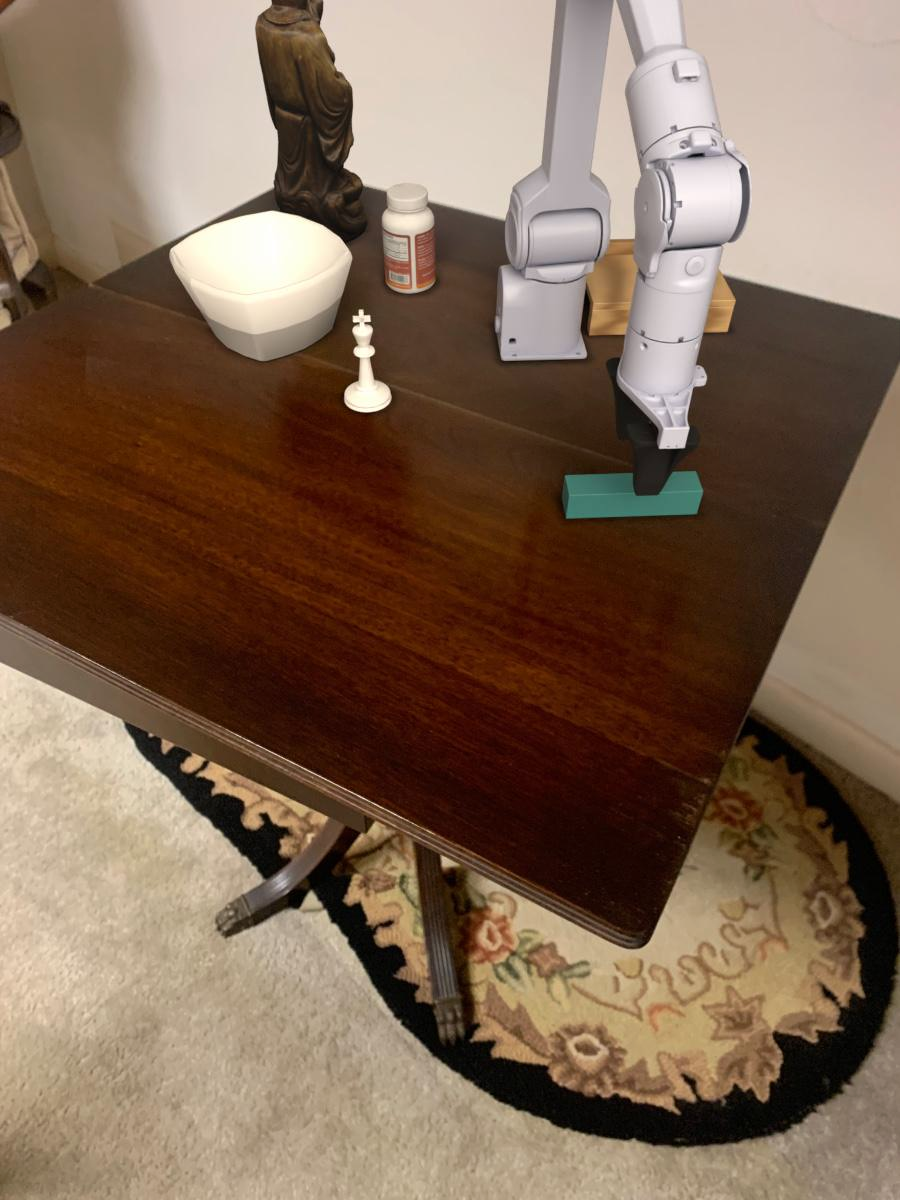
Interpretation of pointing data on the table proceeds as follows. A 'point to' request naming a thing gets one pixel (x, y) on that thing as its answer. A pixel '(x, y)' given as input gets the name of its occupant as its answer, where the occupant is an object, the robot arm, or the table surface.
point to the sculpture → (309, 118)
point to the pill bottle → (408, 239)
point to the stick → (628, 496)
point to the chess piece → (365, 373)
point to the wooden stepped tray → (615, 292)
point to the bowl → (265, 281)
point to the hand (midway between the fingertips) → (637, 464)
